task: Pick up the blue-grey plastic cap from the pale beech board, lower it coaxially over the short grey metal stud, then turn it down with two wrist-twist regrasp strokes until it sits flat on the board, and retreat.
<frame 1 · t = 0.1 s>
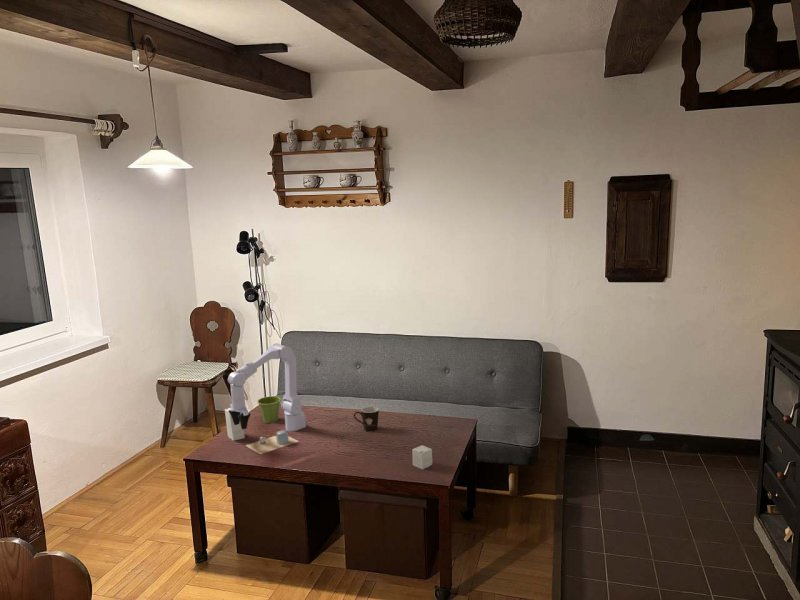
hand: (240, 426, 293), 10 cm above the table, tool pointing down, fingers open, 7 cm apart
board: (272, 445, 295), on the table
coffee mug: (368, 429, 311), on the table
cap: (283, 442, 295), point 1 cm above the table, touching board
plant pot: (270, 421, 327), on the table
skincare box 2: (236, 439, 304), on the table
skincare box: (422, 465, 269), on the table
stud: (263, 443, 295), resting on board
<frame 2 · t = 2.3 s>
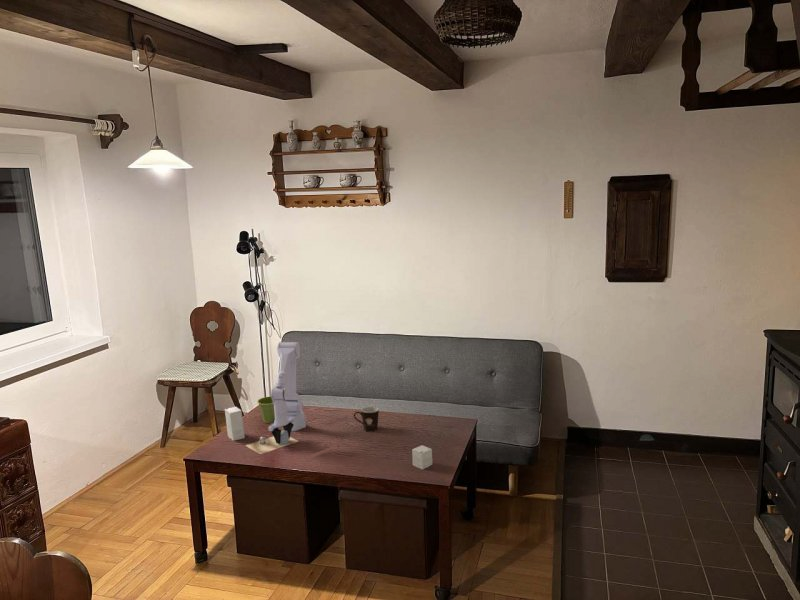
hand: (282, 441, 295), 2 cm above the table, tool pointing down, fingers closed on cap, 5 cm apart
cap: (283, 442, 295), point 1 cm above the table, touching board, gripper
everything else where it was.
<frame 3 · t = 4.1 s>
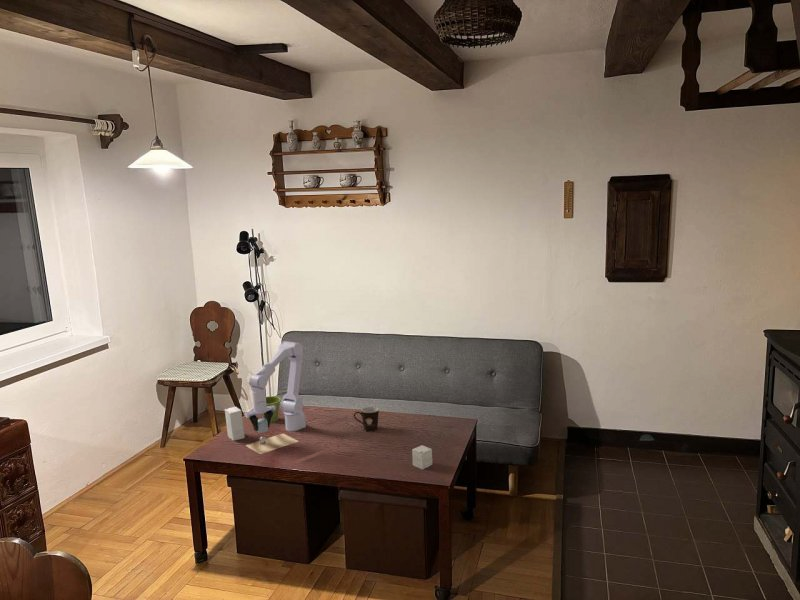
hand: (261, 428, 294), 8 cm above the table, tool pointing down, fingers closed on cap, 5 cm apart
cap: (262, 430, 294), point 7 cm above the table, touching gripper
everything else where it was.
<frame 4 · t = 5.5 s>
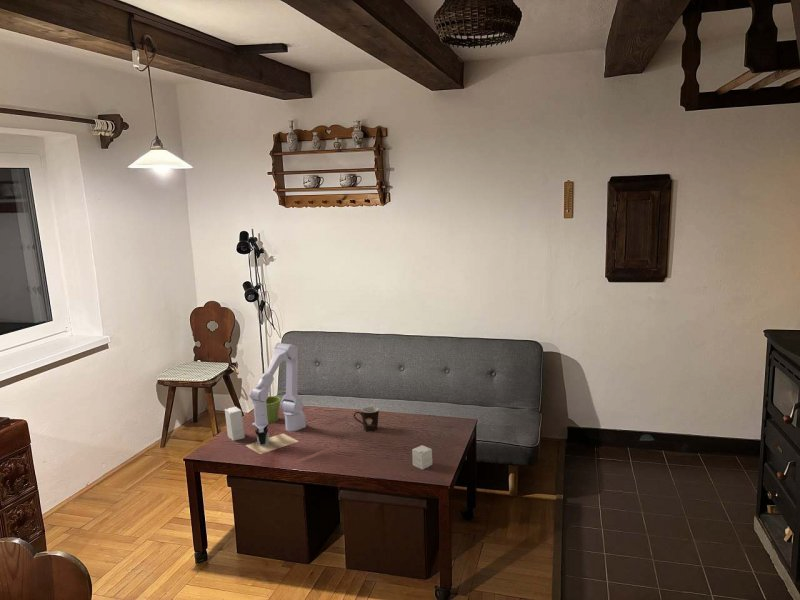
hand: (262, 441, 295), 2 cm above the table, tool pointing down, fingers closed on cap, 5 cm apart
cap: (263, 443, 295), point 1 cm above the table, touching board, gripper
everything else where it was.
when the fingers open (2 cm above the table, at t = 5.9 s): cap stays where it is, resting on board.
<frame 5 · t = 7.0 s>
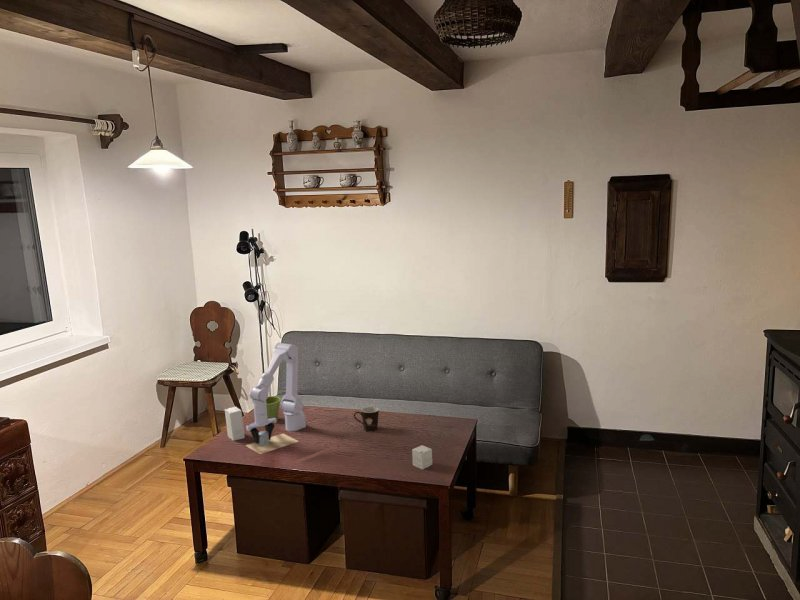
hand: (262, 441, 295), 2 cm above the table, tool pointing down, fingers open, 5 cm apart
cap: (263, 443, 295), point 1 cm above the table, touching board, gripper
everything else where it was.
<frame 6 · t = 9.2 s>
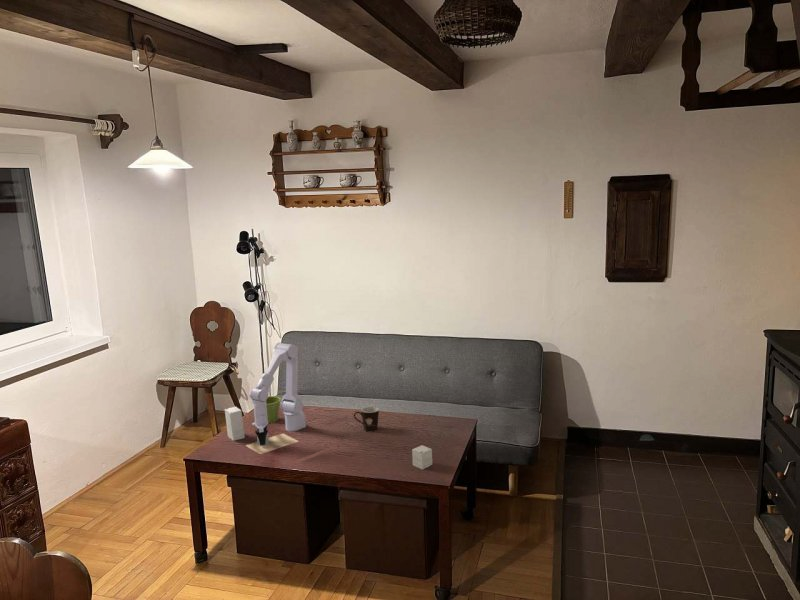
hand: (262, 441, 295), 2 cm above the table, tool pointing down, fingers open, 7 cm apart
cap: (263, 443, 295), point 1 cm above the table, touching board
everything else where it was.
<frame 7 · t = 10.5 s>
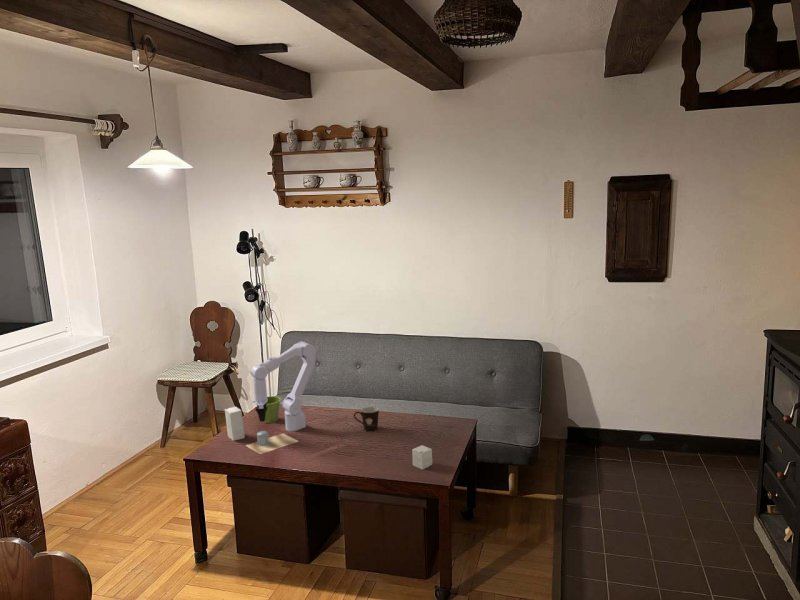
hand: (262, 418, 302), 10 cm above the table, tool pointing down, fingers open, 7 cm apart
nothing on the table moved.
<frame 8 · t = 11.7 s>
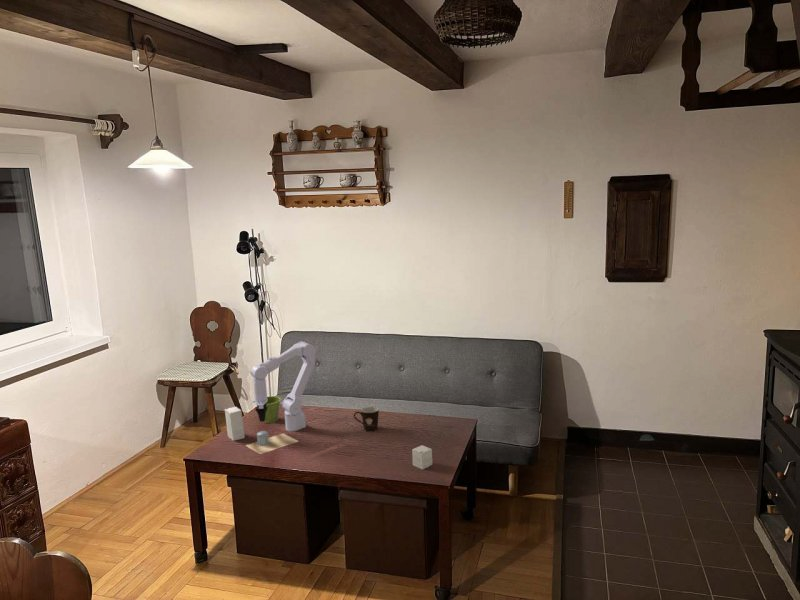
hand: (262, 418, 302), 10 cm above the table, tool pointing down, fingers open, 7 cm apart
nothing on the table moved.
at the end: cap 0.1 cm from the stud (horizontally); cap point 1.2 cm above the table; cap tilted 0° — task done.
